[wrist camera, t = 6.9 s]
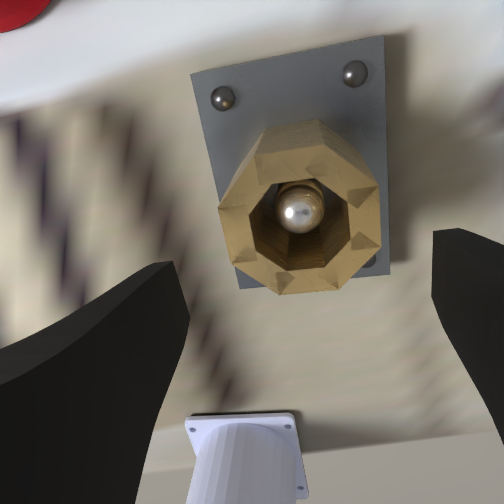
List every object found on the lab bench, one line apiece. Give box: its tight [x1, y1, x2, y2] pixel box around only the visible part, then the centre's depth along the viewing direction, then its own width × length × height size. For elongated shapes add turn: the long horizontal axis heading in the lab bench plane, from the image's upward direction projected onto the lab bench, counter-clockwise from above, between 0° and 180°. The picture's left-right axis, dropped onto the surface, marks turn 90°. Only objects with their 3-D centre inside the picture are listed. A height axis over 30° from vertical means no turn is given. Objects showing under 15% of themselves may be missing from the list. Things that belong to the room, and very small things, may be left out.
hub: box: [218, 119, 381, 295], centre depth 16 cm, size 6×6×5 cm
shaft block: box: [190, 35, 390, 289], centre depth 17 cm, size 11×8×5 cm
